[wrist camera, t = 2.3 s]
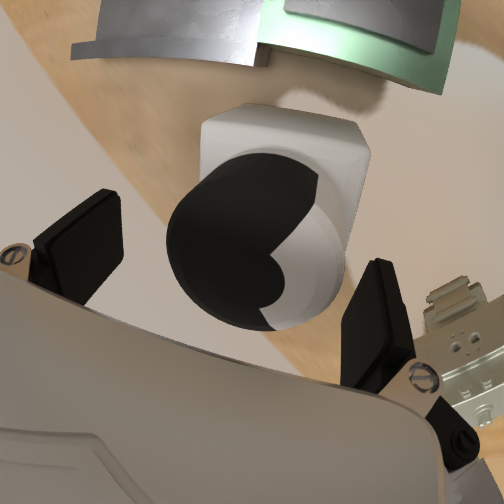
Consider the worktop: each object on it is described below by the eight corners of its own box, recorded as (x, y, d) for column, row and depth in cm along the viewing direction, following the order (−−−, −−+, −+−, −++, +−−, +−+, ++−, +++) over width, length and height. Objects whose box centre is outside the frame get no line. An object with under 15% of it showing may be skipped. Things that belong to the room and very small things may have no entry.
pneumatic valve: (512, 282, 19) (563, 397, 9) (401, 339, 25) (408, 462, 15) (500, 233, 17) (572, 355, 8) (375, 300, 23) (380, 439, 14)
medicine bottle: (235, 202, 22) (153, 325, 12) (243, 102, 18) (133, 150, 8) (336, 223, 21) (328, 369, 11) (358, 121, 17) (396, 196, 7)
